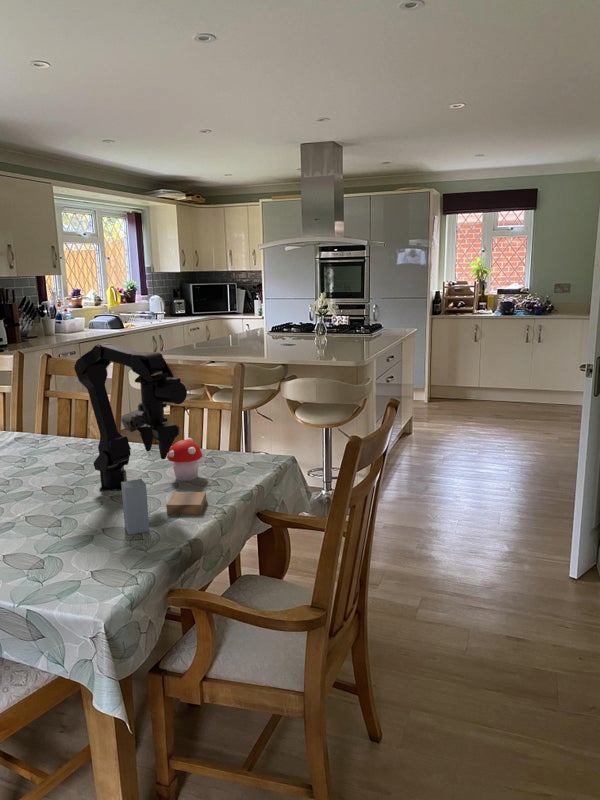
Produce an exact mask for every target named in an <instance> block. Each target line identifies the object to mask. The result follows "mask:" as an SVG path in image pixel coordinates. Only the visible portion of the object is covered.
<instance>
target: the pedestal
mask: <svg viewBox="0 0 600 800" xmlns="http://www.w3.org/2000/svg"><path fill="white" fill-rule="evenodd" d="M206 502H207V491H195V492H194V491H192V492H190V491H187V492H186V491H183V492H182V491H181V492H178V491H177V492H176V491H175V492H173V493H172V495H171V496H170V498H169V500H168V501H167V503H166V514H167V515H199V514H200V515H202V512H203V511H204V508H205V505H206Z"/></svg>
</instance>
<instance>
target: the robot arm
mask: <svg viewBox="0 0 600 800" xmlns="http://www.w3.org/2000/svg"><path fill="white" fill-rule="evenodd" d="M112 363H114V364H118V365H122V366H126V367H129V368H130V370H132V372H133V373H135V374H137V375H138V376H137V378H135V379H134V383H138V384H140V397H141V398H140V399H141V402H139V403H138V405H137V408H138V409H137V410H134V411H132V412H130V413H128V414H126V415H124V416H122V417H121V419H120V421H121V424H122V425H123V427H124V429H125V430H126V431H128V432H129V433H132V432H135V431H137V432H138V433H139V435H140V438H141V440H142V443H143V445H144V449H145V450H146V452H151V450H152V446H153V442H154V441H153V440H155V441H156V442H157V445H158V450H159V455H160V458H161V460H165V459H167V455H168V452H169V449H170V447H171V446H172V445H173V444H174V442H175V439H176V438H177V437H178V436H180V433H181V432H180V429H181V428H180V427H179V425H178V424H176V423H173V422H171V421H170V422H168V418H167V417H165V408H167V403H168V404H172V405H181V404H183V403H184V402H185V401H186V399H187V397H188V395H187V394H188V390H187V388H186V386H185V384H184V383H182V382H181V378H180V377H174V374H173V373H172V372H173V371H172V370H171V369H170V367H169V365H168V364H167V362H166V360H165V358H164V355H163V354H162V353H161V352H155V351H150V352H149V351H147V352H146V351H142V352H138V351H136V350H133V349H128V348H125V347H121V346H119V345H115V344H113V343H110V342H105V343H97V344H95V345H94V346H93V347H92V348H91V350H89V351H87V352H86V353H84V354H82V356H80V358H78V359H77V360H76V362H75V364H74V372H75V374H76V377H77V379H78V381H79V382H80V384H82V385H83V386H84V388H86V390H87V392H88V396H89V400H90V403H91V408H92V410H93V415H94V418H95V421H96V424H97V426H98V428H97V429H98V431H99V435H100V439H99V442H98V447H97V449H98V456H97V457H96V459H95V460H94V461H93V467H94V469H95V471H98V472H99V474H100V475H99V476H100V477H99V478H100V483H101V484H100V485H101V486H100V488H98V489H99V491H101V492H102V491H122V487H121V482H125V481H128V480H127V479H128V477H127V470H126V469H125V467H124V466H128V465H129V462H130V456H131V449H132V448H131V446H130V443H129V438H128V437H127V436H126V435H124V436H123V435H122V434H121V433H120V432H119V430H118V426H117V423H116V420H115V416H114V413H113V408H112V406H111V401H110V399H109V398H110V397H109V395H108V392H107V391H108V390H107V388H106V382H107V378H108V370H107V368H108V367H109V366H110V365H111V364H112Z"/></svg>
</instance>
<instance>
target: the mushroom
mask: <svg viewBox="0 0 600 800" xmlns="http://www.w3.org/2000/svg"><path fill="white" fill-rule="evenodd" d="M193 440H194V439H193V438H191V437H187V438H186V439H182V440H178V441H176V442H175V443H173V444H172V445H171V447H170V449H169V452H168V454H167V456H166V459H167V460H168V461H169V462H173V466H172V467H173V472H174V475H175V479H176V481H177V480H178V481H184V482H186V481H193V480H195V479H198V475H199V474H198V473H199V467H200V466H199V460H200V459H201V458H202V457H203V453H202V449H201V448H200V445H199V444H197V443H196V442H194V441H193Z"/></svg>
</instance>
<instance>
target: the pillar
mask: <svg viewBox="0 0 600 800" xmlns="http://www.w3.org/2000/svg"><path fill="white" fill-rule="evenodd" d="M121 487H122V490H121V496H122V499H121V500H122V509H123V519H124V528H125V530H126V532H127V534H128V535H129V536H130V535H135V534H139V533H145V532H149V531H150V520H149V507H148V506H149V505H148V493H147V492H148V491H147V484H146V483H145V481H144V480H143V479H142V478H137V479H132V480H127V481H125V482H121Z"/></svg>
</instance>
